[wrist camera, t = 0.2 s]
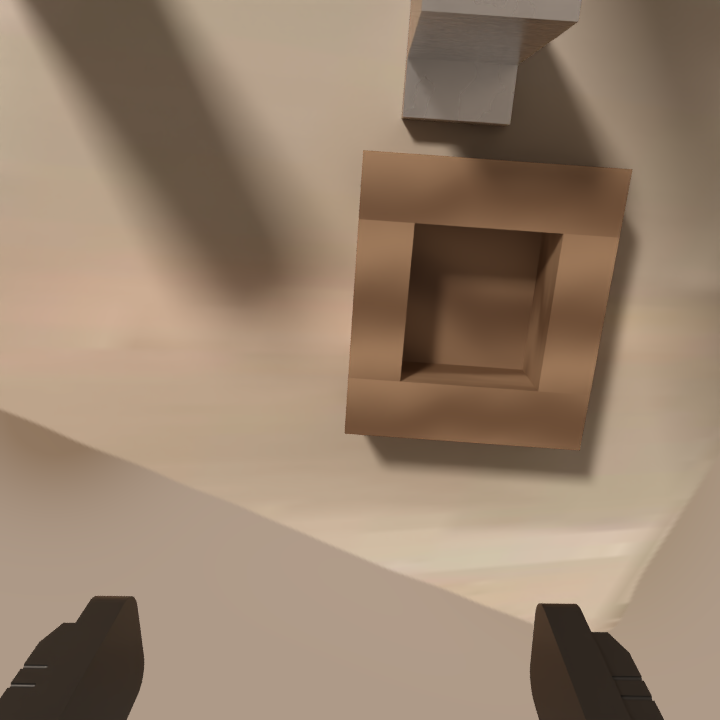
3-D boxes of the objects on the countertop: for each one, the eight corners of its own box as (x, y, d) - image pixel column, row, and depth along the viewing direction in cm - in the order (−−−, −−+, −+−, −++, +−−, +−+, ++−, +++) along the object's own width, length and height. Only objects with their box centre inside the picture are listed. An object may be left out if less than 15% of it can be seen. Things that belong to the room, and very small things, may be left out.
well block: (364, 152, 37) (363, 150, 32) (602, 169, 37) (632, 169, 32) (347, 405, 41) (344, 433, 37) (558, 421, 41) (579, 450, 37)
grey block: (412, -18, 34) (431, -113, 23) (522, -11, 34) (597, -101, 23) (401, 118, 36) (414, 95, 25) (504, 126, 36) (565, 106, 25)
